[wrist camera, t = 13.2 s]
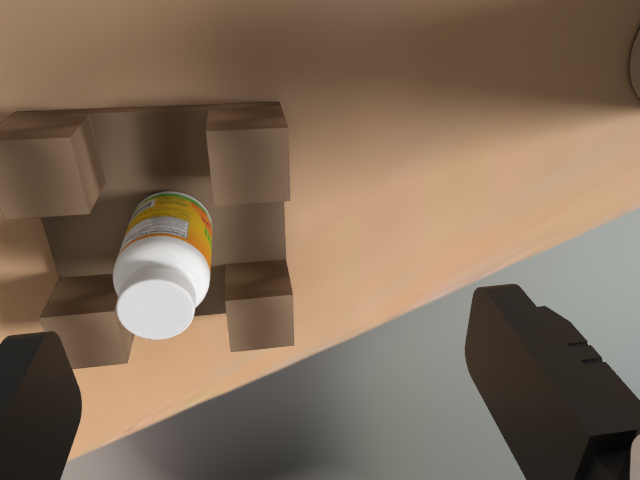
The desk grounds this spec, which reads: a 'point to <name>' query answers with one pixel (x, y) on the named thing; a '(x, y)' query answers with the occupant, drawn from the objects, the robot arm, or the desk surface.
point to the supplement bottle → (163, 265)
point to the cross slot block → (136, 185)
